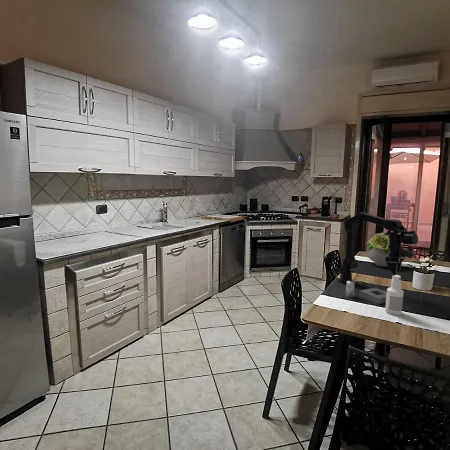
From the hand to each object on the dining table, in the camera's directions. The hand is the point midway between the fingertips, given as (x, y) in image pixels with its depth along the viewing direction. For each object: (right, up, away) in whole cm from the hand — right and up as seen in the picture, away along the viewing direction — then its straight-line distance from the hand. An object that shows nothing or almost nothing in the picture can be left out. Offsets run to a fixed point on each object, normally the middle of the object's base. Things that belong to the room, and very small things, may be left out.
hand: (396, 273), depth 163 cm
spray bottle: (-10, -16, -16) cm, 25 cm away
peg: (-23, -13, +5) cm, 27 cm away
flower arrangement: (+26, -5, +67) cm, 72 cm away
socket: (-10, -14, +2) cm, 17 cm away
